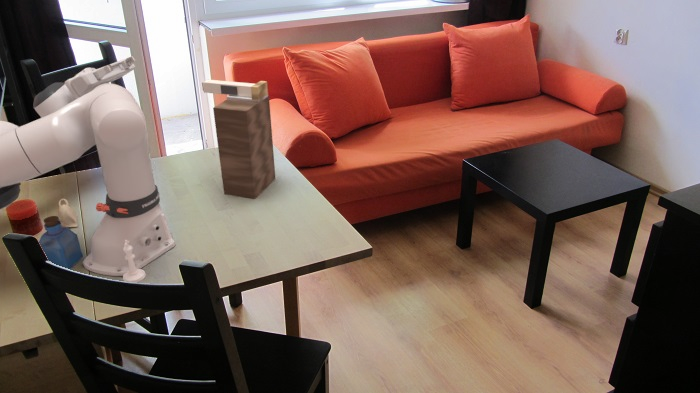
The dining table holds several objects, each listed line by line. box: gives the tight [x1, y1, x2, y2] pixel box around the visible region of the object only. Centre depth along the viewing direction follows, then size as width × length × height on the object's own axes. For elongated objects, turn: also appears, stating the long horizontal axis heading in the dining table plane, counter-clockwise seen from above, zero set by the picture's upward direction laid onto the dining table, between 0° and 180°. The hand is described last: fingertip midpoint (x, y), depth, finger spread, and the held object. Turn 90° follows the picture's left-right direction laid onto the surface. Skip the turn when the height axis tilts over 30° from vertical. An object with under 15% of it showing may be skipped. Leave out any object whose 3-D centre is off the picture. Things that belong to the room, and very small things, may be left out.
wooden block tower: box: [212, 80, 276, 200], centre depth 163 cm, size 14×10×31 cm
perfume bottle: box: [38, 215, 84, 270], centre depth 132 cm, size 6×6×12 cm
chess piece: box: [122, 240, 147, 283], centre depth 128 cm, size 5×5×10 cm
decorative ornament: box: [57, 198, 79, 228], centre depth 151 cm, size 4×8×5 cm, turn 23°
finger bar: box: [201, 79, 256, 97], centre depth 161 cm, size 3×16×3 cm, turn 72°
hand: (121, 63), depth 158 cm, fingers open, 8 cm apart
